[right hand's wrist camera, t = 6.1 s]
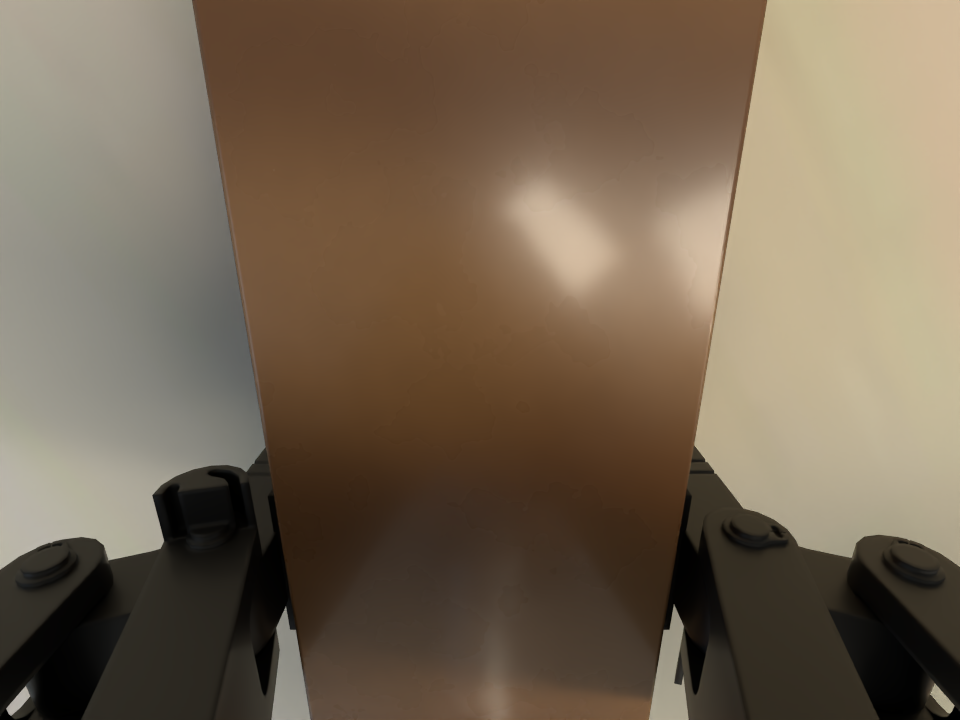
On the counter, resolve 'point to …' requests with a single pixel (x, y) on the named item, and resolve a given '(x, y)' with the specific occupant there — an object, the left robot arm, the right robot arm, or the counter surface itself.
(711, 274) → the post
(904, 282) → the counter surface
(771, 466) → the counter surface
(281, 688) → the counter surface
